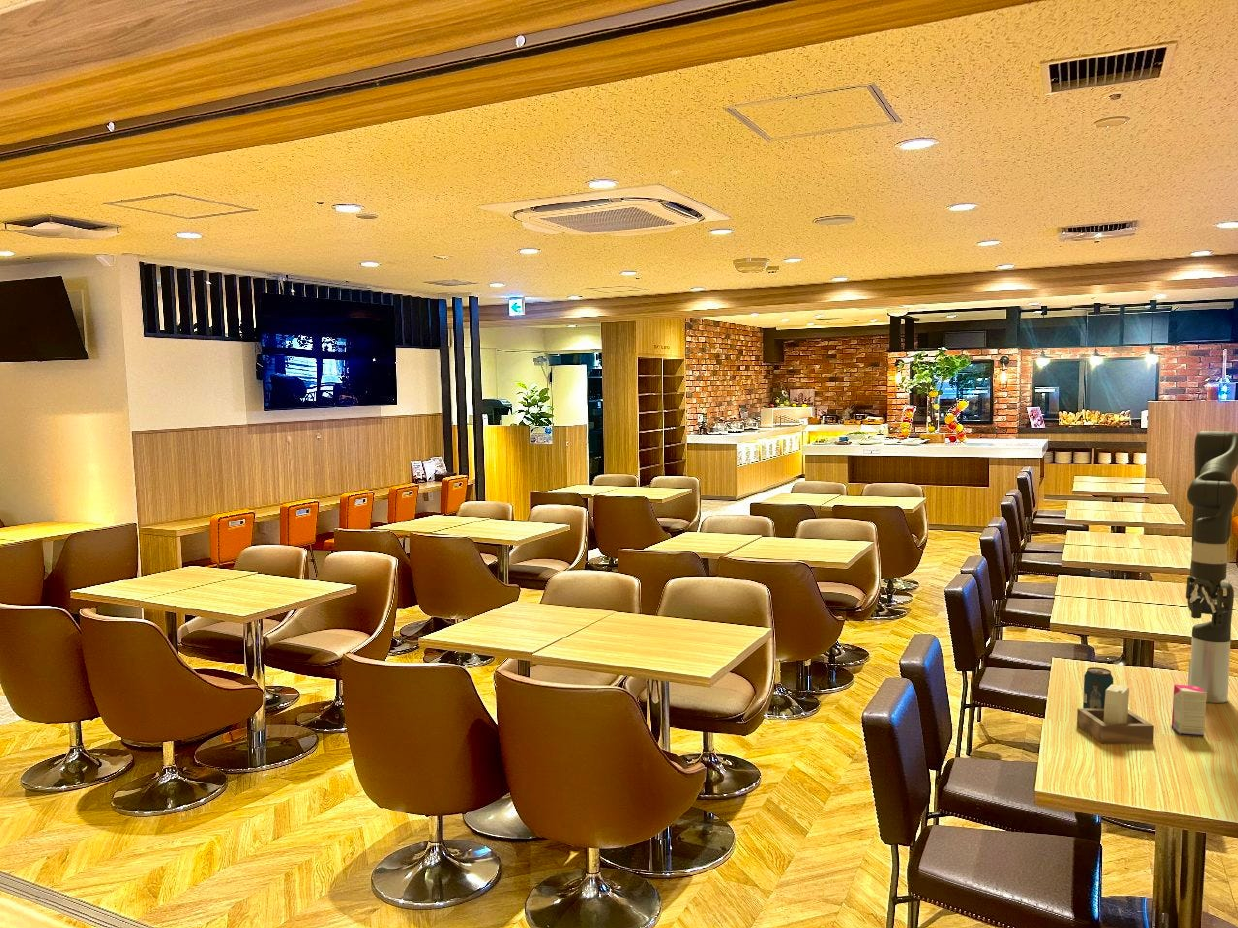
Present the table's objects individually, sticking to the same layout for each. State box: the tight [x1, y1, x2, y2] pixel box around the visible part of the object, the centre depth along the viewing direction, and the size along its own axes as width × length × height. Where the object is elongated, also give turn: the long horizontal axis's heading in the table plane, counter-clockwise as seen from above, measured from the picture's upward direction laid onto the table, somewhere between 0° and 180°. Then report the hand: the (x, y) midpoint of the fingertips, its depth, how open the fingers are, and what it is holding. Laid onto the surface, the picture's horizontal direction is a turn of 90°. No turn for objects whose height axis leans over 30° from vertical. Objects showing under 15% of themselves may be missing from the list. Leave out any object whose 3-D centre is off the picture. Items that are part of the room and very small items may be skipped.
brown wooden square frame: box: [1076, 707, 1155, 745], centre depth 236 cm, size 13×13×4 cm
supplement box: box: [1171, 684, 1207, 738], centre depth 237 cm, size 6×6×12 cm
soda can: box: [1082, 666, 1114, 708], centre depth 250 cm, size 7×7×12 cm
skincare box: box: [1103, 683, 1130, 724], centre depth 235 cm, size 6×4×12 cm
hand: (1206, 622), depth 236 cm, fingers open, 8 cm apart
